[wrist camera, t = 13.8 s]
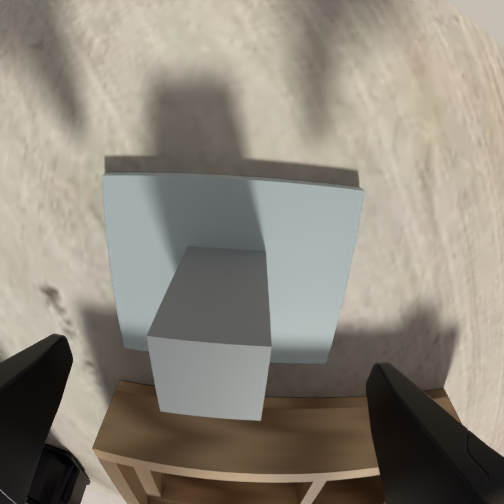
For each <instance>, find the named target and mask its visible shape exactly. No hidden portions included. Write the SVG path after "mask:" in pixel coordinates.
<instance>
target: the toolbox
mask: <svg viewBox="0 0 504 504" xmlns="http://www.w3.org/2000/svg"><path fill="white" fill-rule="evenodd" d="M423 392H424V393H426V394H427V395H428V396H429V397H430V398H432V399H433V400H434V401H435V402H436V403H437V404H439V405H440V406H441V407H442V408H443V409H445V410H446V411H447V412H448V413H449V414H450V415H452V416H453V417H454V418H455V419H456V420H458V421H459V422H460V423H461V421H460V419H459V417H458V415H457V413H456V411H455V409H454V407H453V405H452V403H451V401H450V399H449V397H448V395H447V394H446V392H445V390H444V388H443V389H436V390H429V391H423ZM461 424H462V423H461ZM92 449H93V451H94V452H95V454H96V456H97V458H98V459H99V461H100V463H101V464H102V466H103V468H104V469H105V471H106V472H107V474H108V476H109V477H110V479H111V480H112V482H113V483H114V485H115V486H116V488H117V489H118V491H119V492H120V494H121V495H122V497H123V498H124V500H125V501H126V502H127V504H383V503H384V502H385V498H384V493H383V487H382V482H381V477H380V472H379V468H378V463H377V458H376V454H375V449H374V445H373V440H372V435H371V429H370V420H369V411H368V403H367V396H363V397H340V398H277V397H264V403H263V410H262V416H261V421H257V420H238V419H224V418H212V417H202V416H193V415H184V414H176V413H169V412H162V411H160V408H159V403H158V398H157V393H156V388H155V386H149V385H143V384H137V383H132V382H126V381H121V380H120V382H119V384H118V386H117V389H116V391H115V393H114V396H113V398H112V400H111V403H110V405H109V408H108V410H107V412H106V415H105V417H104V420H103V422H102V425H101V427H100V430H99V432H98V435H97V437H96V440H95V442H94V445H93V448H92Z"/></svg>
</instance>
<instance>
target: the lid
mask: <svg viewBox="0 0 504 504" xmlns="http://www.w3.org/2000/svg"><path fill="white" fill-rule="evenodd" d="M102 186H103V203H104V216H105V227H106V237H107V246H108V255H109V263H110V270H111V277H112V284H113V291H114V297H115V303H116V309H117V314H118V320H119V325H120V330H121V335H122V340H123V345H124V348H126V349H133V350H139V351H147V352H149V355H150V361H151V367H152V372H153V378H154V383H155V388H156V393H157V398H158V403H159V408H160V411H162V412H169V413H176V414H184V415H193V416H202V417H212V418H224V419H238V420H257V421H261V416H262V410H263V403H264V397H265V390H266V383H267V376H268V370H269V363H300V364H326V363H327V359H328V356H329V352H330V349H331V345H332V341H333V338H334V334H335V330H336V326H337V322H338V318H339V314H340V310H341V306H342V302H343V298H344V294H345V289H346V285H347V280H348V276H349V271H350V267H351V262H352V257H353V252H354V247H355V242H356V237H357V232H358V226H359V221H360V215H361V209H362V204H363V197H364V190H363V189H361V188H360V187H355V186H347V185H338V184H329V183H320V182H310V181H300V180H289V179H277V178H264V177H250V176H234V175H215V174H192V173H155V172H109V173H106V174H104V175H102Z"/></svg>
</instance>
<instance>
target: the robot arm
mask: <svg viewBox="0 0 504 504" xmlns="http://www.w3.org/2000/svg"><path fill="white" fill-rule="evenodd" d="M72 363H73V356H72V353H71V350H70V346H69V343H68V340H67V338H66V337H65V336H63V335H59V334H52V335H50V336H48V337H46V338H45V339H43V340H41V341H39V342H37V343H35V344H34V345H32V346H30V347H28V348H26V349H25V350H23V351H21V352H19V353H17V354H15V355H14V356H12V357H10V358H8V359H6V360H5V361H3V362H1V363H0V504H80V503H81V500H82V497H83V494H84V491H85V488H86V485H89V484H90V480H89V479H88V477H87V476H86V475H85V473H84V472H83V470H82V469H81V468H80V466H79V465H78V463H77V462H76V461H75V459H74V458H73V456H72V455H71V454H69V453H67V452H64V451H61V450H59V449H56V448H53V447H50V446H48V445H45V441H46V438H47V436H48V433H49V431H50V428H51V425H52V423H53V420H54V418H55V415H56V413H57V410H58V408H59V405H60V402H61V399H62V396H63V392H64V389H65V386H66V382H67V379H68V376H69V373H70V370H71V367H72ZM366 395H367V403H368V411H369V420H370V429H371V435H372V440H373V445H374V449H375V454H376V458H377V463H378V468H379V472H380V477H381V482H382V487H383V493H384V498H385V503H386V504H504V457H503V456H501V455H500V454H499V453H497V452H496V451H494V450H493V449H492V448H490V447H489V446H488V445H486V444H485V443H484V442H483V441H481V440H480V439H479V438H478V437H477V436H475V435H474V434H473V433H472V432H471V431H468V429H467V428H466V427H465V426H463V425H462V424H461V423H460V422H459V421H458V420H456V419H455V418H454V417H453V416H452V415H450V414H449V413H448V412H447V411H446V410H445V409H443V408H442V407H441V406H440V405H439V404H437V403H436V402H435V401H434V400H433V399H432V398H430V397H429V396H428V395H427V394H426V393H424V392H423V391H422V390H421V389H420V388H419V387H417V386H416V385H415V384H414V383H413V382H411V381H410V380H409V379H408V378H407V377H406V376H404V375H403V374H402V373H401V372H400V371H398V370H397V369H396V368H395V367H394V366H392V365H391V364H390V363H388V362H379V363H375V364H374V366H373V368H372V370H371V373H370V375H369V378H368V380H367V383H366Z"/></svg>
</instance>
